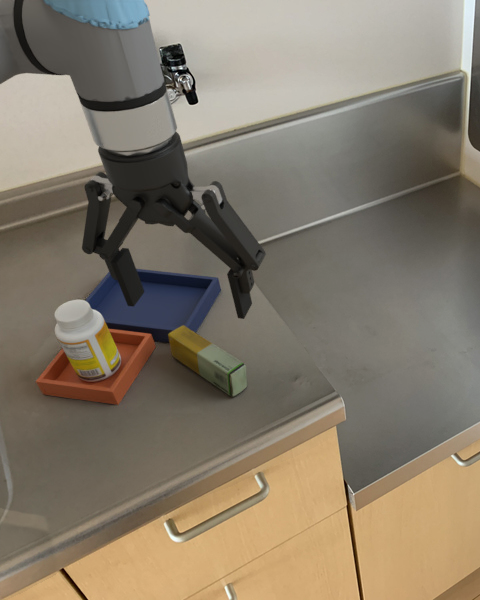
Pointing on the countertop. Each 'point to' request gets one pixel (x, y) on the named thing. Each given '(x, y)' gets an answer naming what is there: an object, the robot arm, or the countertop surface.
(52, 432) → the countertop surface
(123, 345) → the terracotta tray
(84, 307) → the supplement bottle
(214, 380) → the medication box
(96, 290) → the navy tray
